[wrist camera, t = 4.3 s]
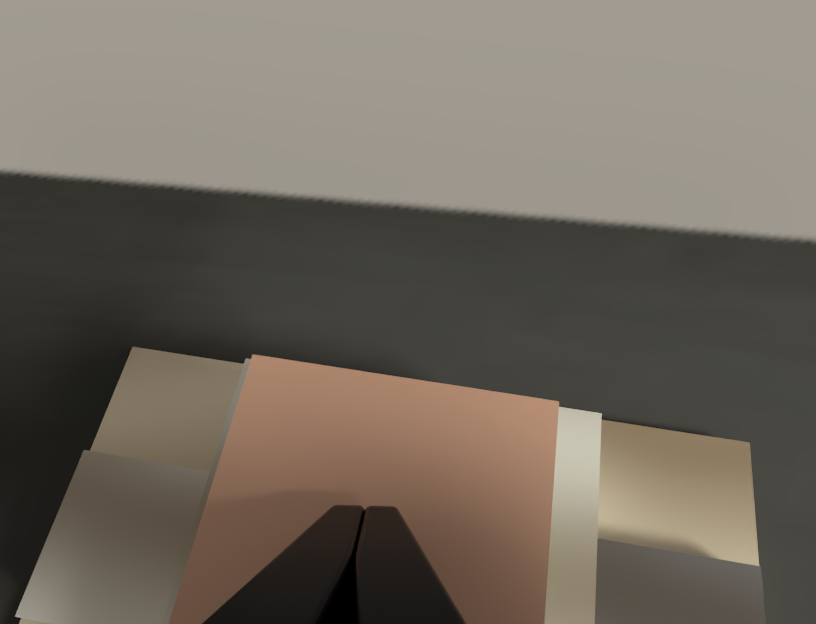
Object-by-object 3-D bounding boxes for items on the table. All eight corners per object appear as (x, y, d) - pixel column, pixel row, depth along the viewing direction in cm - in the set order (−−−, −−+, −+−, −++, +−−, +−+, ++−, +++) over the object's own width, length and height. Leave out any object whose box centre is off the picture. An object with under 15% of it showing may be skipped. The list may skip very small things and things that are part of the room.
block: (480, 730, 14) (534, 785, 8) (266, 687, 15) (143, 703, 8) (503, 508, 16) (559, 400, 10) (317, 476, 17) (252, 354, 10)
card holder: (771, 961, 14) (938, 1099, 9) (-27, 780, 15) (-205, 825, 11) (737, 450, 19) (834, 384, 14) (142, 357, 20) (67, 272, 16)
